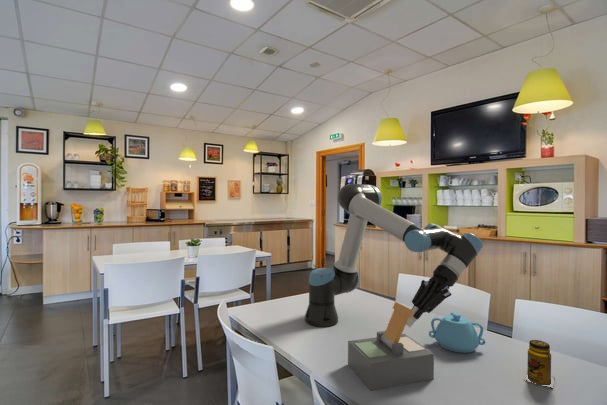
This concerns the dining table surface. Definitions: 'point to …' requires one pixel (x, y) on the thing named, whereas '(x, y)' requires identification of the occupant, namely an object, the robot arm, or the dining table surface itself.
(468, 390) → the dining table surface
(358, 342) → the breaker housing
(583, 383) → the dining table surface
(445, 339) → the teapot
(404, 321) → the breaker lever
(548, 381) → the condiment
